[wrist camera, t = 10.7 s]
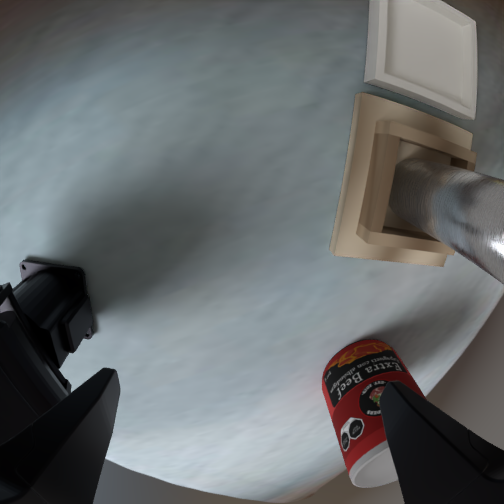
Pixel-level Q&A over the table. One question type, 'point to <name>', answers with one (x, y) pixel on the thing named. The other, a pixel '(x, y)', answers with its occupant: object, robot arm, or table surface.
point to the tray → (423, 53)
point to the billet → (453, 209)
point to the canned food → (363, 407)
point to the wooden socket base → (391, 180)
